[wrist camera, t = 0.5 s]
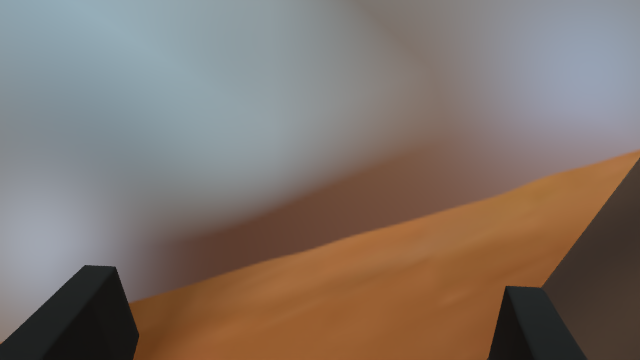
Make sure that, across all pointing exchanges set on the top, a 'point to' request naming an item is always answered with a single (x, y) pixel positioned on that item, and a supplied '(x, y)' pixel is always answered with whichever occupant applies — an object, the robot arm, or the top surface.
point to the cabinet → (604, 279)
